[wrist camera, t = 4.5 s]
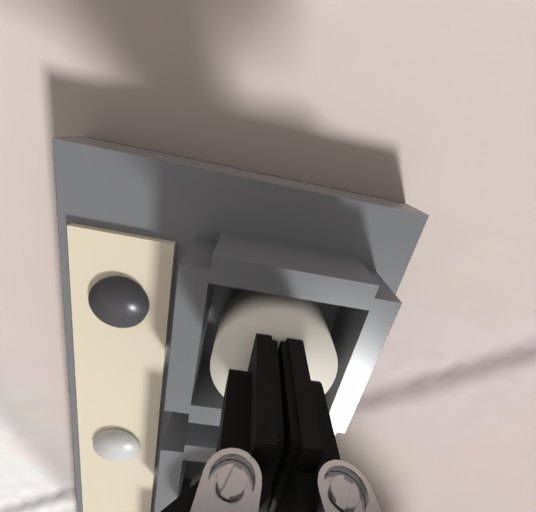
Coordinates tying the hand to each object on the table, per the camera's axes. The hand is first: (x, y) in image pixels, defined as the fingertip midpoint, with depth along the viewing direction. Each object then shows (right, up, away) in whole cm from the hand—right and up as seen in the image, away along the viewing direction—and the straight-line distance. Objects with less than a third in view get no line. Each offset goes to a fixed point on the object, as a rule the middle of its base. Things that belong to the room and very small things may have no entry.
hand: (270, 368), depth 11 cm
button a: (0, +1, +2) cm, 2 cm away
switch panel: (-4, -6, +8) cm, 10 cm away
